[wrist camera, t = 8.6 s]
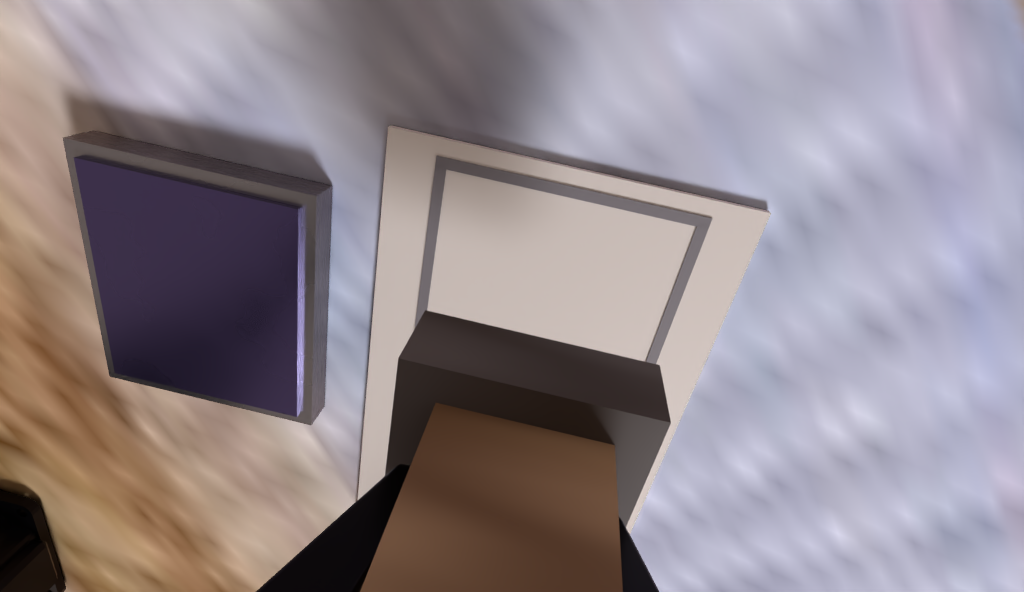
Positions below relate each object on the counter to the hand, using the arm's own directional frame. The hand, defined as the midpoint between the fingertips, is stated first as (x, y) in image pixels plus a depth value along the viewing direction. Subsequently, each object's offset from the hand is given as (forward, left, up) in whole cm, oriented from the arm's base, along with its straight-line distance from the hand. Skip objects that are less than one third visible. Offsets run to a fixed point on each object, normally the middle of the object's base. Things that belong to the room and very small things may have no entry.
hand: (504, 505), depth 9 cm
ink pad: (-10, -2, -8) cm, 13 cm away
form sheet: (0, -4, -8) cm, 9 cm away
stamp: (0, 0, -2) cm, 2 cm away
